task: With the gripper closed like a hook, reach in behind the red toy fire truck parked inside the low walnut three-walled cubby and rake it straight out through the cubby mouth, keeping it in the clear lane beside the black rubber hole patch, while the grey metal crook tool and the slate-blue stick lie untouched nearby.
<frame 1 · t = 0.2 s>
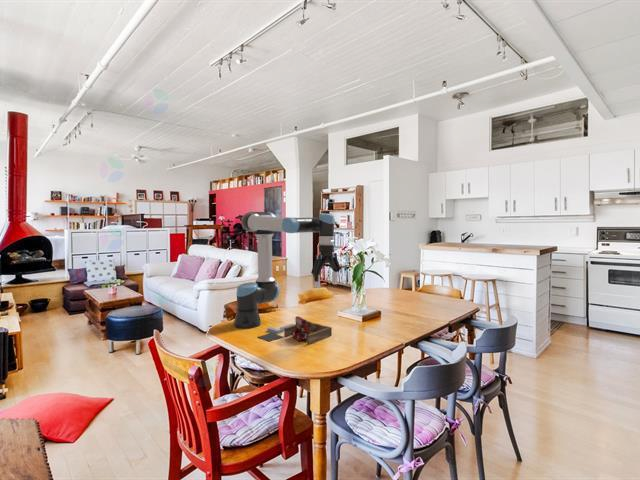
hand: (326, 286, 183), 27 cm above the table, fingers open, 13 cm apart
grey metal crook tool: (287, 329, 197), on the table
walnut cubby: (307, 336, 186), on the table
black hole patch: (270, 337, 184), on the table
toy fire truck: (301, 339, 183), on the table
slate-blue stick: (273, 332, 193), on the table
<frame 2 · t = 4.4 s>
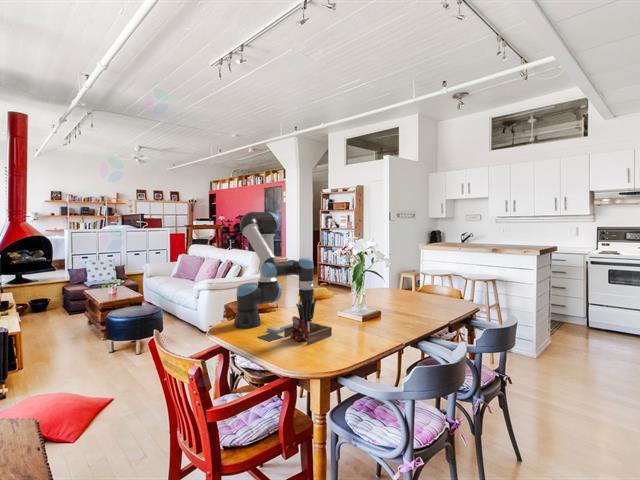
hand: (306, 333, 185), 2 cm above the table, fingers closed
toy fire truck: (300, 338, 182), on the table, touching gripper, hand
everything else where it was.
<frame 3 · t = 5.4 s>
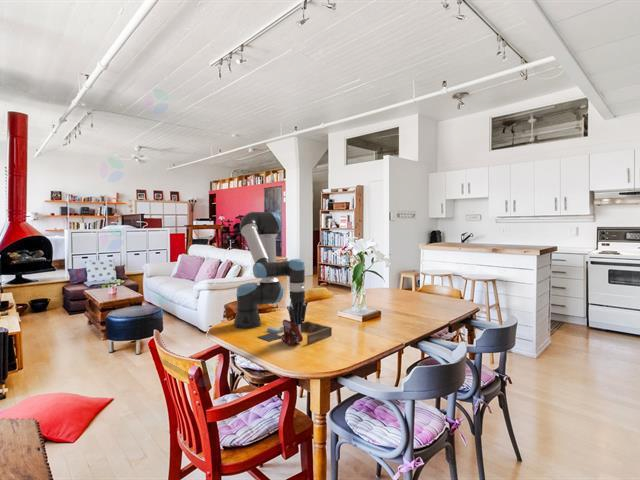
hand: (298, 336, 180), 2 cm above the table, fingers closed
toy fire truck: (292, 342, 177), on the table, touching gripper, hand
everything else where it was.
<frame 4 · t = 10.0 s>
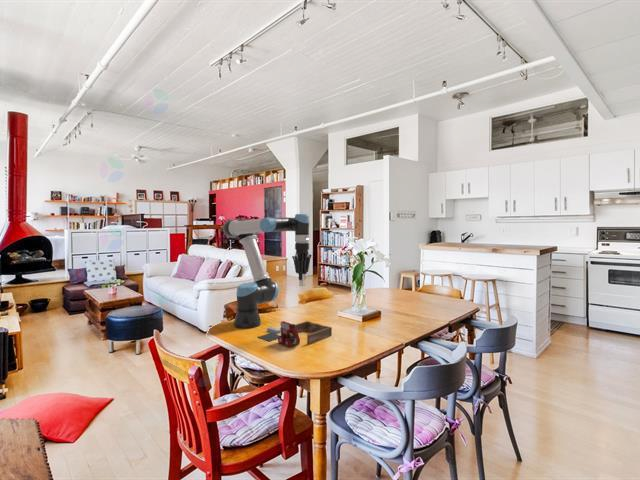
hand: (302, 285, 196), 24 cm above the table, fingers closed
toy fire truck: (289, 344, 175), on the table
everything else where it was.
at the end: toy fire truck inside the target area (3.7 cm from its centre), on the table; toy fire truck touching table; toy fire truck tilted 0° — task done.
